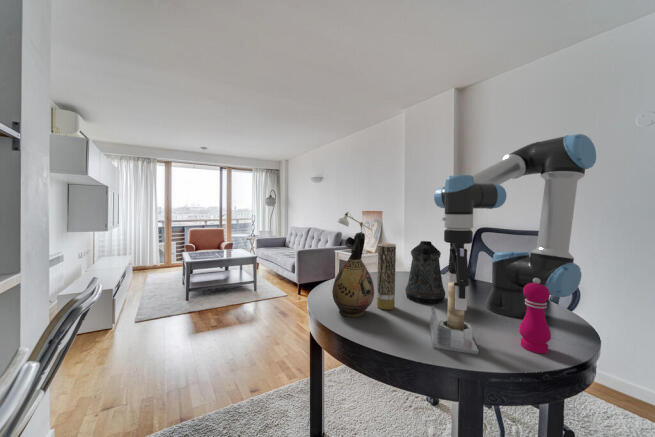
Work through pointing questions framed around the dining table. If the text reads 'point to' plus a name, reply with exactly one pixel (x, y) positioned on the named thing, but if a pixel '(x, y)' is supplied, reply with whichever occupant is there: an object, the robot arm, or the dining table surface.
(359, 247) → the ceramic jug
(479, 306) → the dining table surface
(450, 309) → the wooden spindle
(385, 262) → the paper tube
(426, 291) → the black tapered vessel
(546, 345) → the pepper mill
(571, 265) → the robot arm
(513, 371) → the dining table surface
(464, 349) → the cup bracket
